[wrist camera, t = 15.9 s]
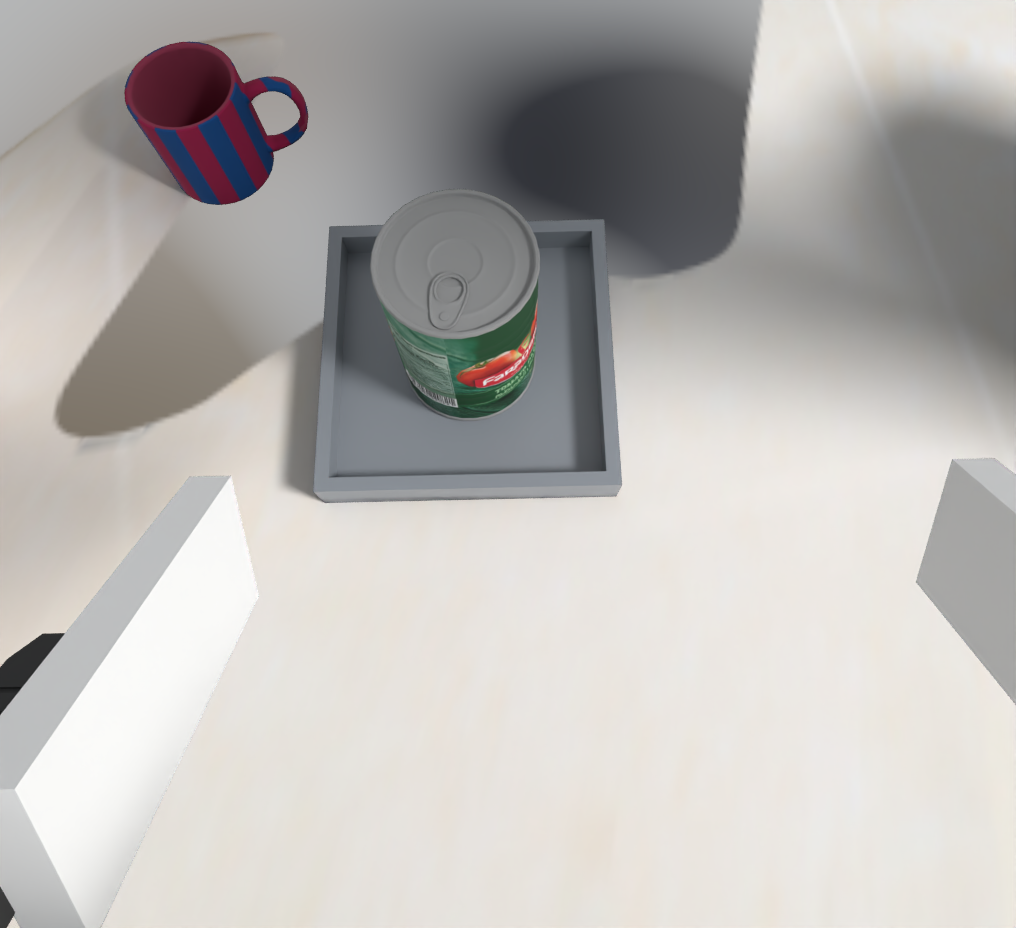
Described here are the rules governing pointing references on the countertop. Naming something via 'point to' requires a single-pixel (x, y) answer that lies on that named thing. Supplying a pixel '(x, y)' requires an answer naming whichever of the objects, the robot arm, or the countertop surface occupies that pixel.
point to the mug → (207, 120)
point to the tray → (470, 444)
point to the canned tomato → (460, 300)
